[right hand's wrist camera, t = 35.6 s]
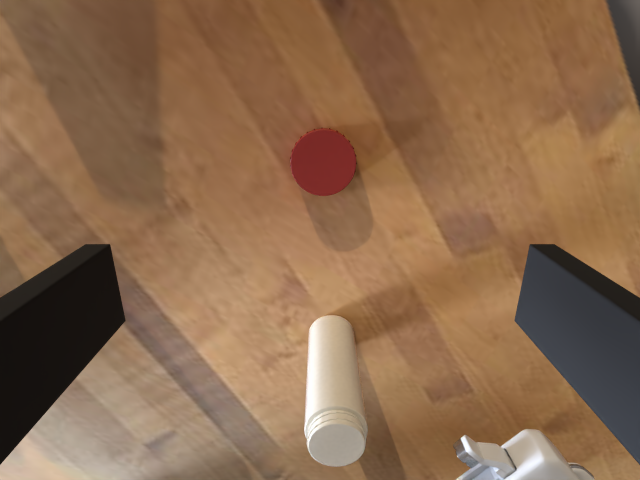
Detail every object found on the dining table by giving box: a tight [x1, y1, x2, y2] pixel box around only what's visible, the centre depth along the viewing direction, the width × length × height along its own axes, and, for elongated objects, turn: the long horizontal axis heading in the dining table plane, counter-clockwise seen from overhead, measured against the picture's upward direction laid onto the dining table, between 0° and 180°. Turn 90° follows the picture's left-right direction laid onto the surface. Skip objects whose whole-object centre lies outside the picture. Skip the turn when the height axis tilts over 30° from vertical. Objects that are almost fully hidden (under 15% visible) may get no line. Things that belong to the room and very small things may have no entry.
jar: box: [304, 315, 368, 467], centre depth 36 cm, size 5×5×15 cm
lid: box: [290, 128, 357, 196], centre depth 36 cm, size 6×6×2 cm
